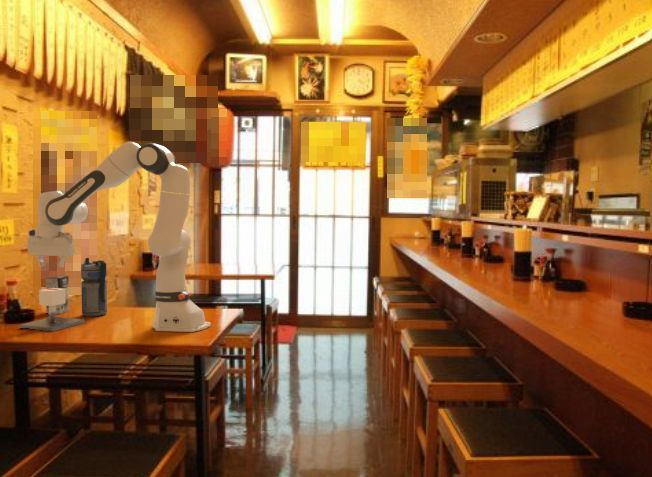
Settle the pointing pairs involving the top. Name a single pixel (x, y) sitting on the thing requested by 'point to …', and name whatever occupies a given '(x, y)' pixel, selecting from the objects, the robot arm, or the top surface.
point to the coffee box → (63, 284)
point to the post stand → (52, 322)
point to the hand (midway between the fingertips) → (51, 266)
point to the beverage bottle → (94, 288)
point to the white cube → (52, 296)
